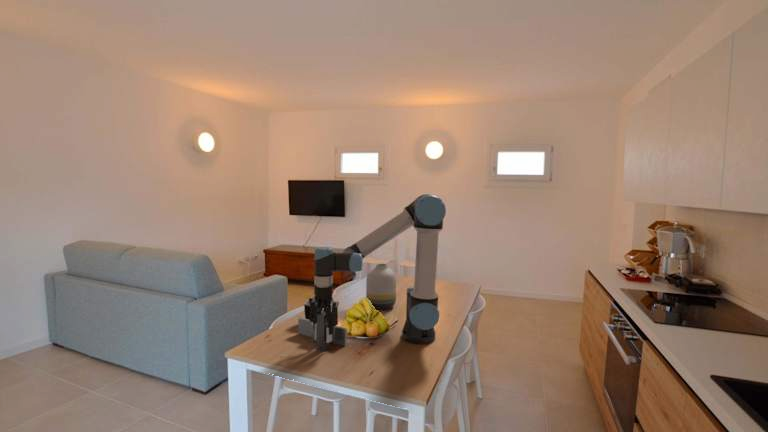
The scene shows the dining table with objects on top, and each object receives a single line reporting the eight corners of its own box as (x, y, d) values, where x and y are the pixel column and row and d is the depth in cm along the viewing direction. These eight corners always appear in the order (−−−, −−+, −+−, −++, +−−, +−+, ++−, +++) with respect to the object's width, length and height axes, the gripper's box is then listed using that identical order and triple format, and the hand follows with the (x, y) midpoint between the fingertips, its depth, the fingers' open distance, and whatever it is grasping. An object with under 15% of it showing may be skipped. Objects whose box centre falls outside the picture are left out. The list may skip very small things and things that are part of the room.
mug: (312, 328, 170) (312, 307, 169) (300, 323, 176) (300, 303, 175) (331, 320, 180) (331, 301, 179) (319, 316, 185) (319, 297, 184)
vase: (390, 313, 192) (391, 269, 190) (361, 309, 197) (362, 266, 195) (399, 303, 208) (400, 263, 206) (372, 300, 213) (373, 260, 211)
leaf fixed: (349, 343, 155) (349, 326, 154) (341, 348, 149) (341, 331, 148) (320, 335, 162) (320, 319, 161) (311, 340, 156) (311, 324, 156)
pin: (329, 348, 149) (329, 313, 148) (324, 351, 146) (324, 315, 145) (322, 346, 151) (322, 311, 150) (317, 349, 148) (317, 314, 147)
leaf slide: (332, 337, 159) (332, 322, 159) (322, 343, 153) (322, 327, 152) (304, 330, 166) (304, 315, 166) (294, 335, 160) (294, 320, 160)
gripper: (347, 286, 146) (346, 341, 147) (311, 280, 154) (311, 332, 156) (336, 290, 139) (336, 348, 141) (300, 284, 147) (299, 338, 149)
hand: (323, 339), depth 148 cm, fingers open, 5 cm apart
